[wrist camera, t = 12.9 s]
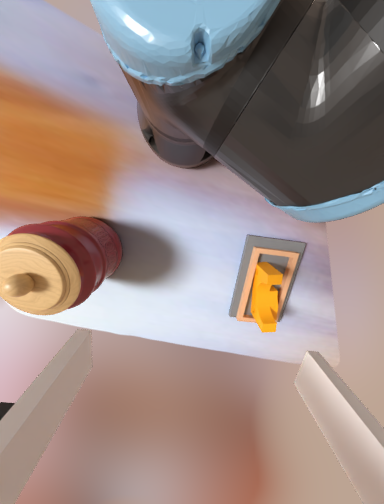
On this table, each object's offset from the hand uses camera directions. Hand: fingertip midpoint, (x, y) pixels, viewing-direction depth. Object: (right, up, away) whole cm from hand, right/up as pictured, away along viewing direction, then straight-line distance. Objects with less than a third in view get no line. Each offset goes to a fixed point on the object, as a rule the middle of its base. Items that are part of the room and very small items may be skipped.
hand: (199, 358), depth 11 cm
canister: (-21, +7, +25) cm, 34 cm away
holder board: (+15, 0, +28) cm, 32 cm away
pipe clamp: (+15, -1, +28) cm, 32 cm away
